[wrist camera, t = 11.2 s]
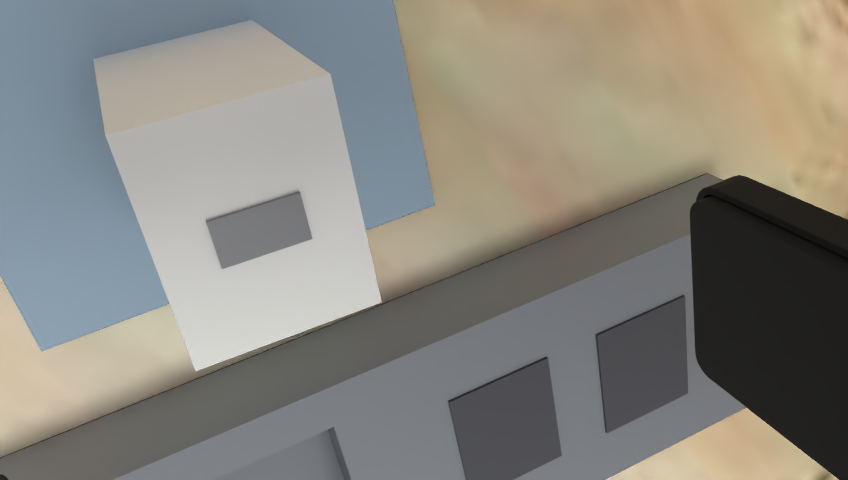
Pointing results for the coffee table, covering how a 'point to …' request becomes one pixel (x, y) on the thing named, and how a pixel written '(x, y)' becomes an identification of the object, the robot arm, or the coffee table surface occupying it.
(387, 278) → the coffee table surface
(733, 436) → the coffee table surface
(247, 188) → the block
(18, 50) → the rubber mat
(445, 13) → the coffee table surface
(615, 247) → the power strip
